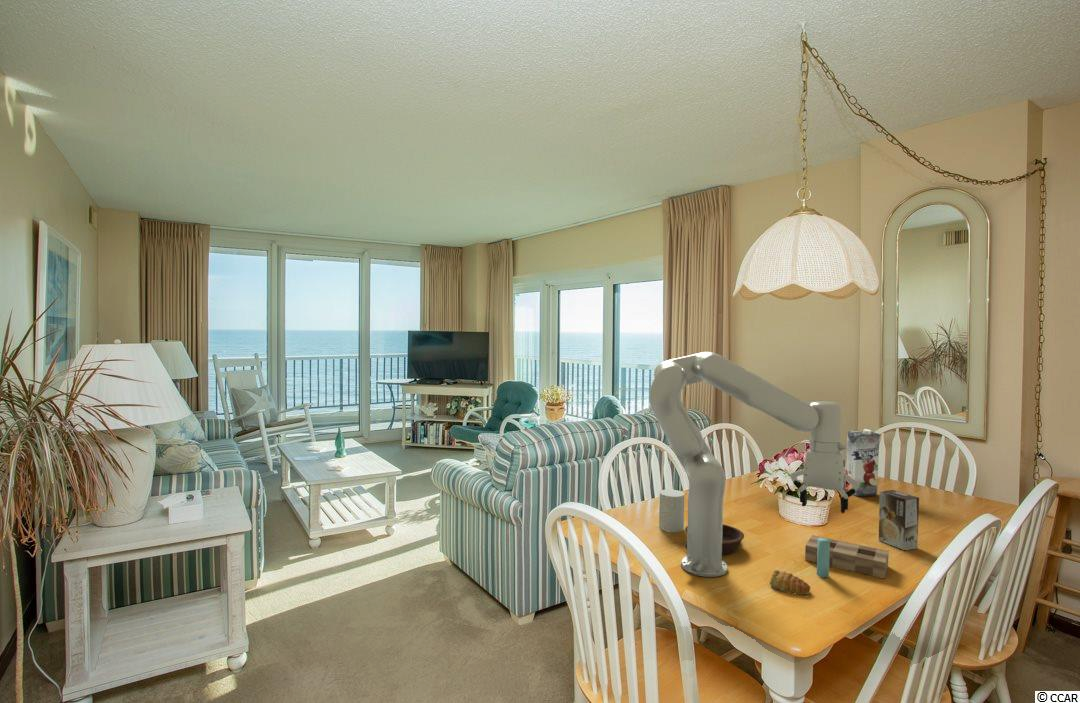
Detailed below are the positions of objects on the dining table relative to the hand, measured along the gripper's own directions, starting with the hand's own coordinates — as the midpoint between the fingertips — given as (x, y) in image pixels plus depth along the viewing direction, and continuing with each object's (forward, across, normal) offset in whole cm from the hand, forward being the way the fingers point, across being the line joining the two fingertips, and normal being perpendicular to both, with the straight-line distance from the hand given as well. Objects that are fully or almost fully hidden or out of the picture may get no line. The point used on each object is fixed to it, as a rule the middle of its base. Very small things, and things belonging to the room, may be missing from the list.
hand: (823, 508), depth 153 cm
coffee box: (+19, -16, -38) cm, 46 cm away
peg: (+19, 0, 0) cm, 19 cm away
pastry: (+19, +6, +14) cm, 24 cm away
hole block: (+19, -4, -12) cm, 23 cm away
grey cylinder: (+18, +48, -9) cm, 52 cm away
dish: (+19, +31, -2) cm, 36 cm away
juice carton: (+19, 0, -93) cm, 95 cm away
